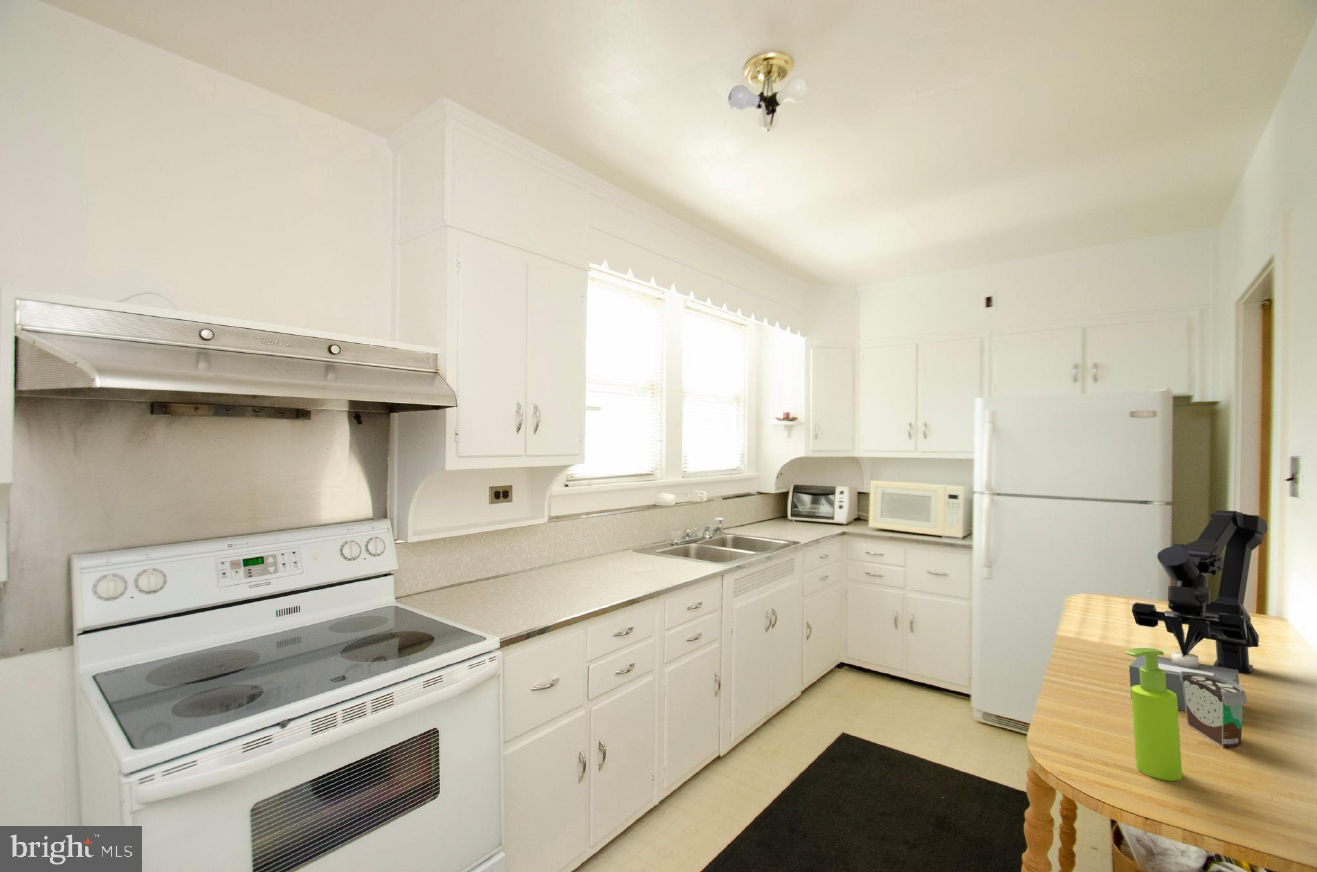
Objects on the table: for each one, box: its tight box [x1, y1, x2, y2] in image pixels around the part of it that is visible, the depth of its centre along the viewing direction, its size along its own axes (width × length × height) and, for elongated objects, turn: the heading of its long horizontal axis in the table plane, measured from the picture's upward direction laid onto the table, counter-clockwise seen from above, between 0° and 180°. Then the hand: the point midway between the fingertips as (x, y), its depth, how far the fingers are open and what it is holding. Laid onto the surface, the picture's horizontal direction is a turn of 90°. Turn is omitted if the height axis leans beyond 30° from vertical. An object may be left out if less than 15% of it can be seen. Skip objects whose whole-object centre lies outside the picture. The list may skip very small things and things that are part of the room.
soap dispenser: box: [1124, 647, 1183, 782], centre depth 99 cm, size 6×7×20 cm
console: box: [1128, 655, 1240, 712], centre depth 126 cm, size 12×16×7 cm
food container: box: [1180, 671, 1249, 749], centre depth 110 cm, size 12×6×10 cm, turn 168°
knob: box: [1170, 651, 1200, 668], centre depth 129 cm, size 4×4×6 cm
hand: (1184, 653), depth 129 cm, fingers closed, pressing on knob
